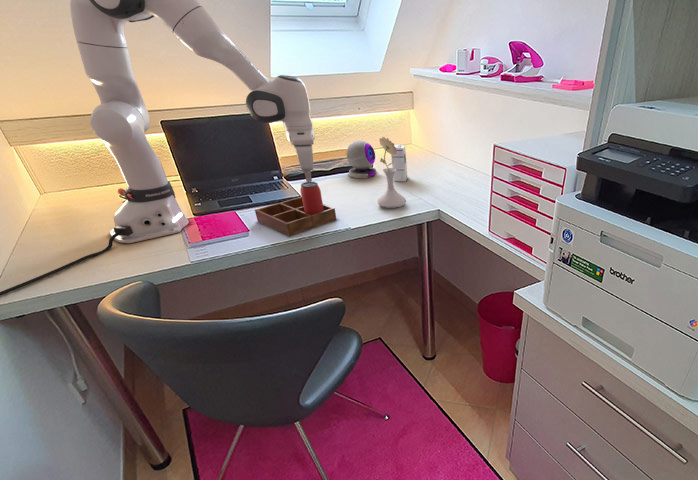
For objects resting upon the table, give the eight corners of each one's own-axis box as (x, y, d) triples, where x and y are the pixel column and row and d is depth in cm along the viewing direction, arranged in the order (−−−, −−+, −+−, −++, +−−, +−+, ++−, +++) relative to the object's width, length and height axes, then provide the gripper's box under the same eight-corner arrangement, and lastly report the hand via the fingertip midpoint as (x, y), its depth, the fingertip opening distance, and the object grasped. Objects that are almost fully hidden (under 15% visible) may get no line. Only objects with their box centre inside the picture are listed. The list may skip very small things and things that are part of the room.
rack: (289, 236, 141) (286, 224, 138) (257, 222, 150) (254, 209, 148) (336, 220, 153) (334, 208, 151) (304, 207, 163) (302, 196, 160)
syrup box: (405, 181, 193) (404, 148, 184) (393, 181, 193) (390, 147, 184) (407, 177, 197) (405, 145, 189) (394, 177, 197) (392, 144, 189)
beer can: (319, 221, 149) (313, 187, 142) (302, 219, 150) (295, 186, 143) (328, 215, 154) (322, 182, 147) (311, 213, 155) (305, 180, 148)
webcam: (369, 179, 194) (366, 144, 186) (344, 176, 196) (339, 142, 188) (380, 171, 205) (377, 138, 196) (356, 169, 207) (352, 136, 198)
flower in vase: (411, 207, 165) (407, 140, 151) (383, 212, 161) (377, 143, 146) (398, 197, 175) (394, 133, 160) (372, 201, 170) (365, 135, 156)
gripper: (287, 127, 142) (295, 169, 150) (291, 141, 127) (300, 186, 135) (307, 126, 145) (314, 168, 152) (313, 140, 129) (320, 185, 137)
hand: (307, 177), depth 144 cm, fingers open, 8 cm apart
